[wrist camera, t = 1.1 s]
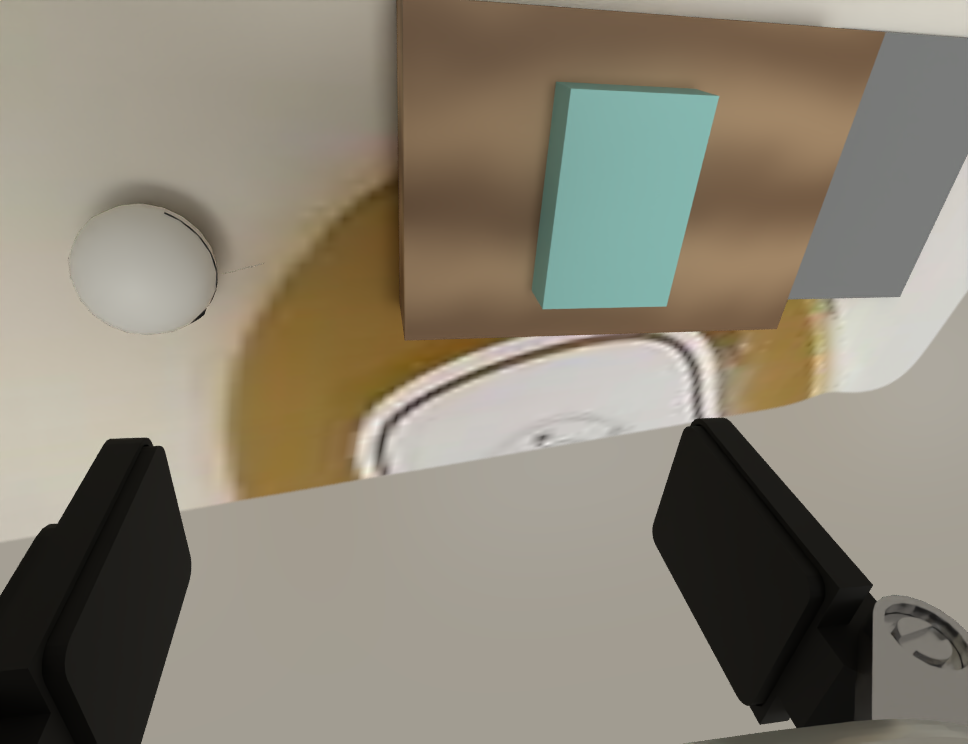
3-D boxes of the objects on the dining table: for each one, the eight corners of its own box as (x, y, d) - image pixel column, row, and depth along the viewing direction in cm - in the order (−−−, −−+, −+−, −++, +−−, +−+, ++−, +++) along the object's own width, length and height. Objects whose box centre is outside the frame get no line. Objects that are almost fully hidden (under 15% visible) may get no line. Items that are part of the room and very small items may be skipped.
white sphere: (106, 297, 29) (58, 356, 24) (87, 179, 26) (29, 220, 21) (272, 310, 31) (257, 367, 26) (272, 201, 28) (255, 244, 23)
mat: (841, 28, 28) (847, 28, 28) (1013, 41, 30) (1020, 41, 30) (752, 296, 36) (756, 299, 35) (895, 294, 38) (899, 296, 37)
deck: (396, -6, 24) (402, -5, 21) (823, 26, 28) (885, 31, 25) (399, 303, 32) (404, 340, 29) (737, 297, 36) (776, 328, 32)
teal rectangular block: (555, 81, 24) (571, 88, 22) (695, 88, 25) (719, 95, 23) (531, 290, 28) (542, 309, 27) (649, 288, 29) (666, 306, 28)
